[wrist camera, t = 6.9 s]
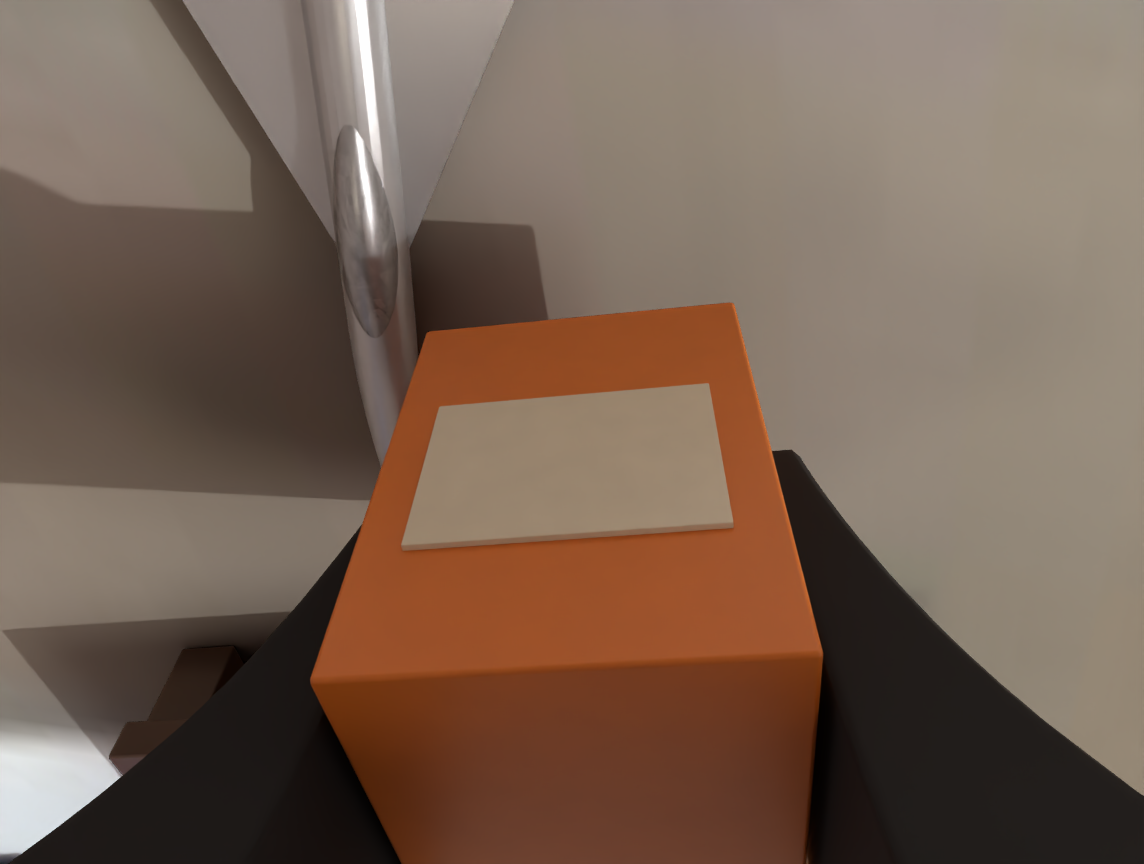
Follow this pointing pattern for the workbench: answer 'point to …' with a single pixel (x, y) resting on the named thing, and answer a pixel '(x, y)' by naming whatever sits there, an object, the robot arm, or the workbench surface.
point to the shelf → (177, 702)
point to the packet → (580, 605)
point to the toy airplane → (362, 140)
